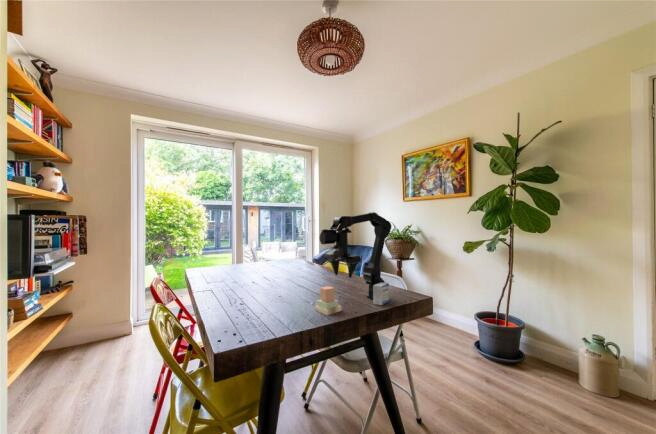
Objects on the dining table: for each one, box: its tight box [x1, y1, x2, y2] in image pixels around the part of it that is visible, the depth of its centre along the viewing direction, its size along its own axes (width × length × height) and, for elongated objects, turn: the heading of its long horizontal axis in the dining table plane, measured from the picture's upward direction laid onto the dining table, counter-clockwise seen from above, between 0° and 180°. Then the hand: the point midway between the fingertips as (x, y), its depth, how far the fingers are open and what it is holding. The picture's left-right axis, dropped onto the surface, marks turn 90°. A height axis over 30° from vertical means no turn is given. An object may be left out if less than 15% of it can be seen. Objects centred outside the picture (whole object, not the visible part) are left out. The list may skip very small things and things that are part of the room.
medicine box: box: [372, 281, 390, 306], centre depth 120 cm, size 8×4×9 cm, turn 142°
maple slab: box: [315, 304, 343, 316], centre depth 112 cm, size 8×8×2 cm
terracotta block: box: [319, 285, 336, 303], centre depth 112 cm, size 4×4×6 cm
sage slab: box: [316, 298, 339, 310], centre depth 112 cm, size 6×6×2 cm
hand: (343, 276), depth 121 cm, fingers open, 9 cm apart
